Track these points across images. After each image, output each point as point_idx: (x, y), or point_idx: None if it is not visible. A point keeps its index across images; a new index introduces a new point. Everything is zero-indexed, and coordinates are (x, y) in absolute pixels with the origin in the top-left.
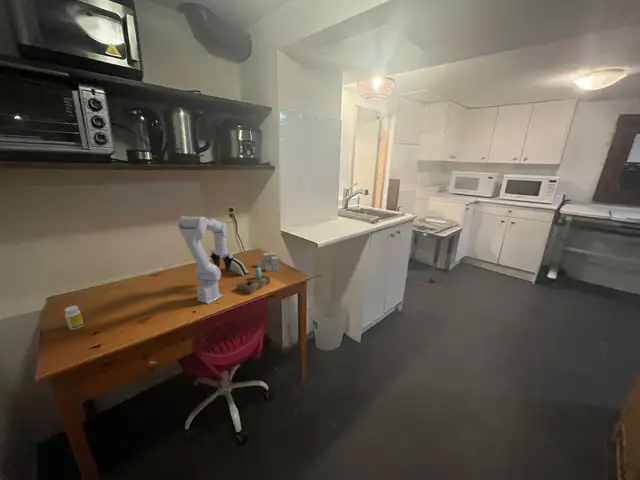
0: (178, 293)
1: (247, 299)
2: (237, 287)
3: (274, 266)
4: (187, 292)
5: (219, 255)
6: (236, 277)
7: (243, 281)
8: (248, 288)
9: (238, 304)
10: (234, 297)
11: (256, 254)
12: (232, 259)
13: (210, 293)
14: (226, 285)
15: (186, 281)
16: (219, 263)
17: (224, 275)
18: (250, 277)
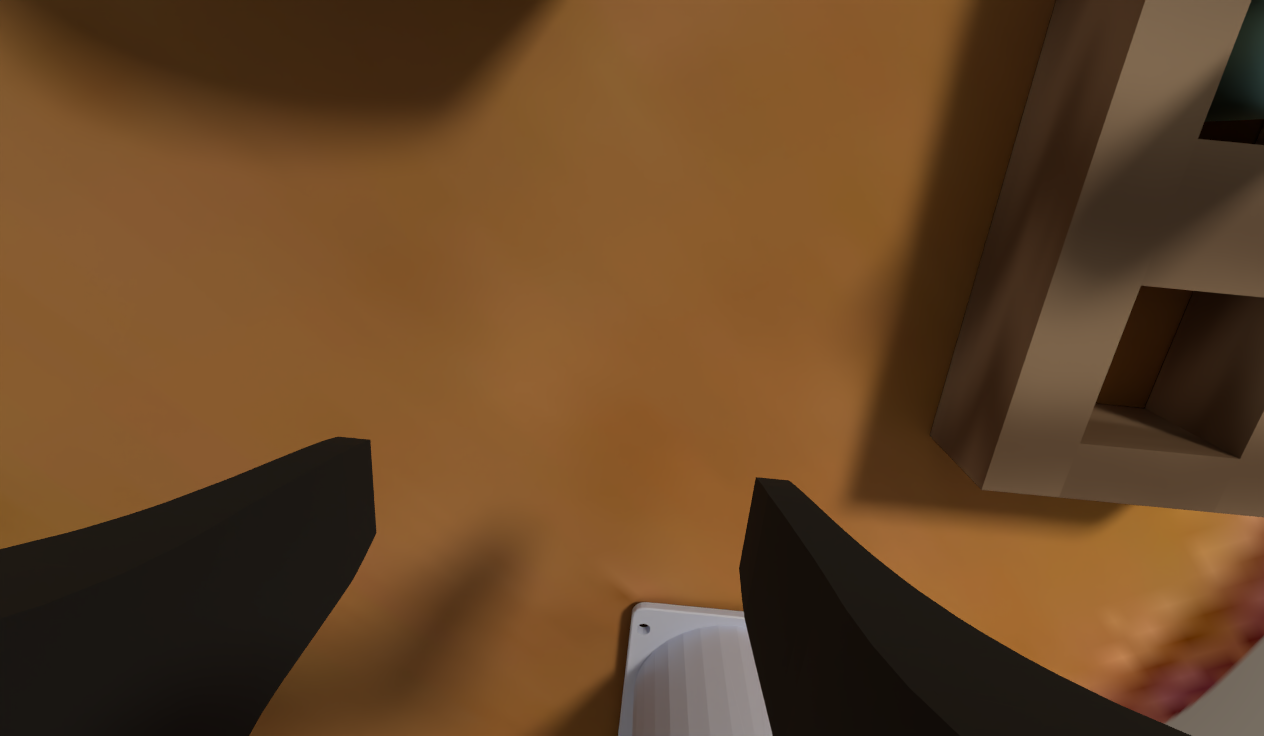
0: (301, 732)
1: (1198, 578)
2: (963, 462)
3: None
4: (364, 688)
5: (18, 685)
6: (603, 6)
7: (1051, 353)
8: (1238, 505)
9: (1130, 693)
10: (997, 595)
11: None
12: (1093, 697)
13: None
14: (665, 369)
15: (38, 491)
16: (318, 475)
17: (315, 34)
18: (1121, 118)
